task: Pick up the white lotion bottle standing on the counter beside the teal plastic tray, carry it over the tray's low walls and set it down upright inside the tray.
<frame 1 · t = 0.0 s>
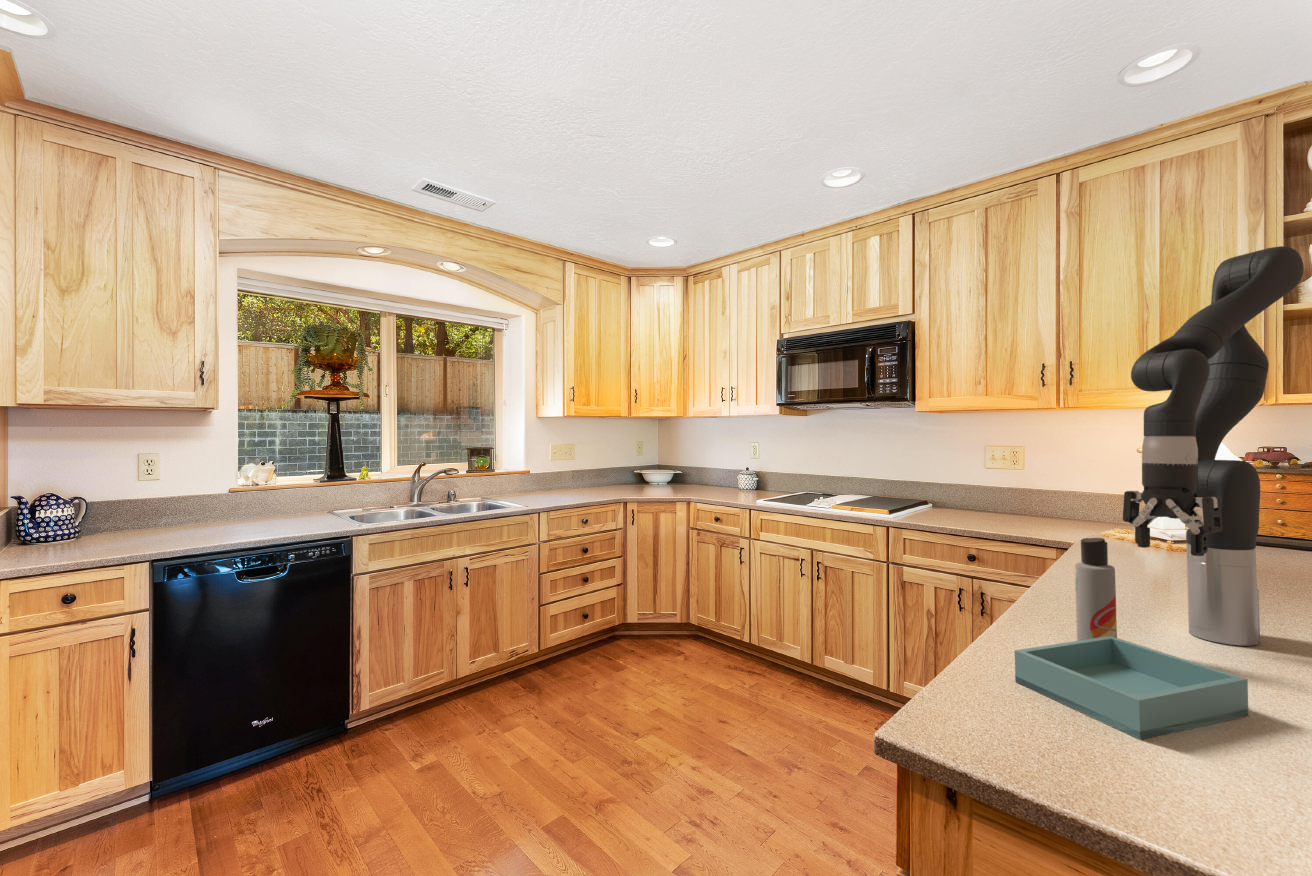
hand: (1169, 551, 102), 17 cm above the countertop, tool pointing down, fingers open, 8 cm apart
lotion bottle: (1097, 650, 101), on the countertop
tray: (1123, 697, 83), on the countertop
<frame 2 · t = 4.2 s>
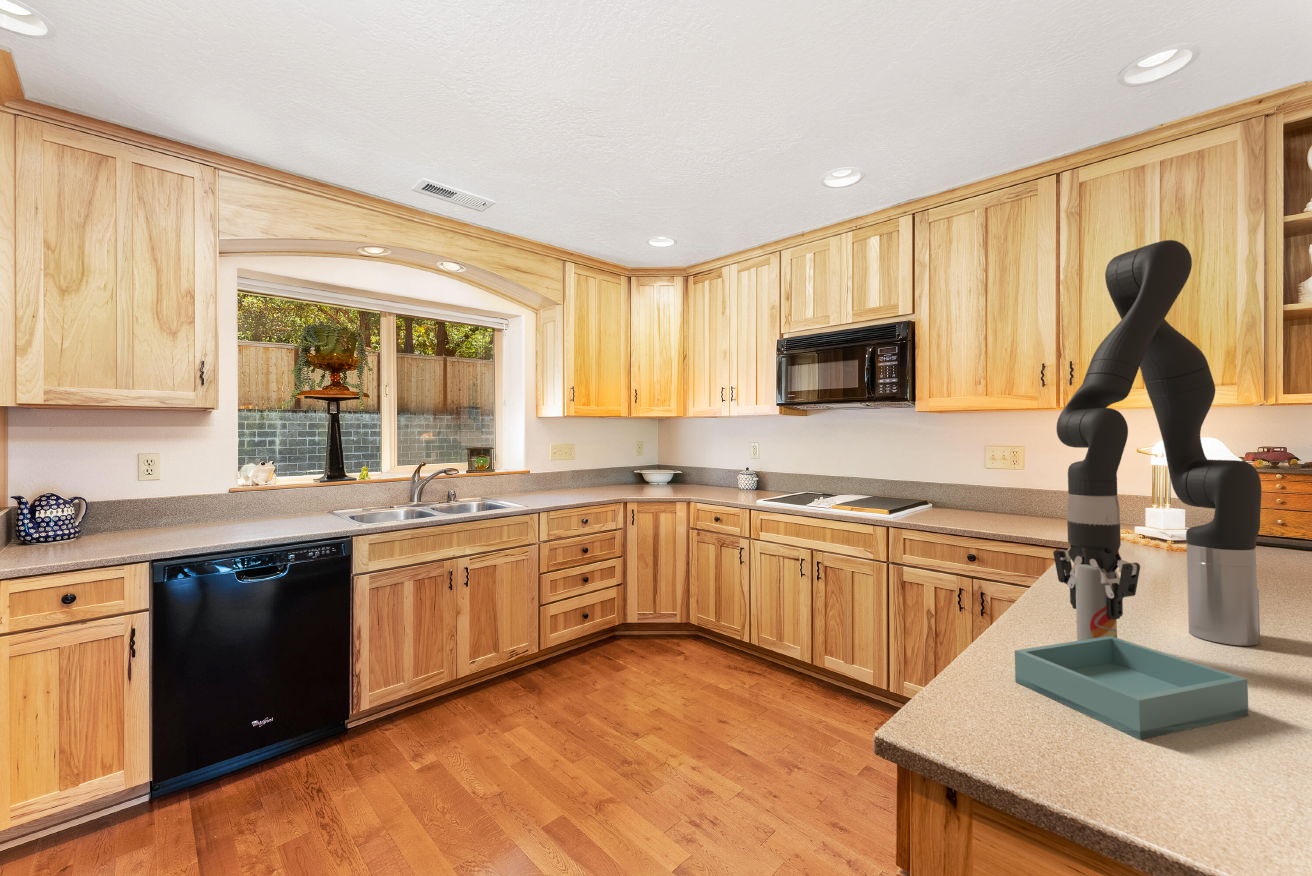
hand: (1095, 613, 101), 7 cm above the countertop, tool pointing down, fingers open, 5 cm apart
lotion bottle: (1097, 650, 101), on the countertop, touching gripper
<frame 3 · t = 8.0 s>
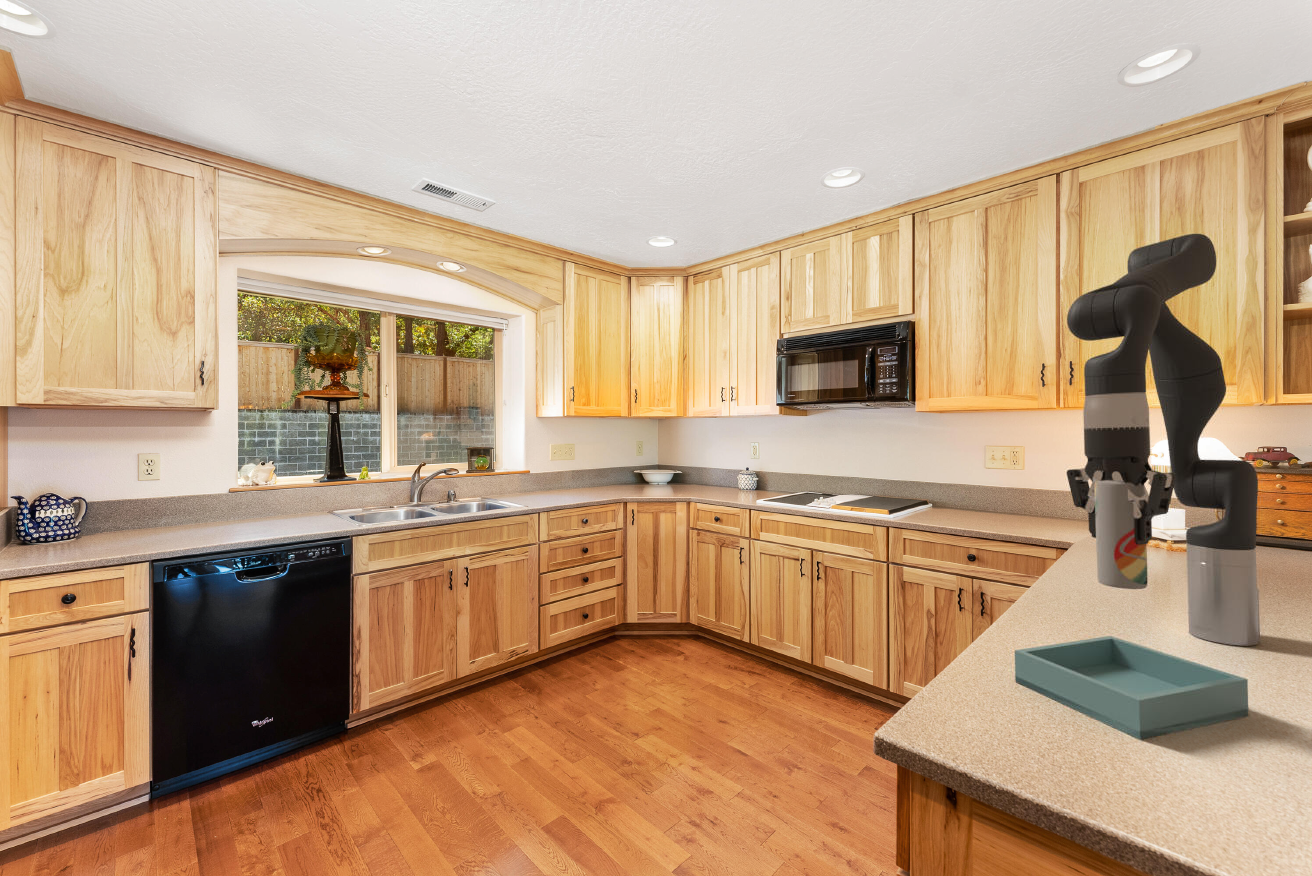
hand: (1119, 540, 83), 23 cm above the countertop, tool pointing down, fingers closed on lotion bottle, 5 cm apart
lotion bottle: (1122, 585, 83), point 16 cm above the countertop, touching gripper
when the fingers open (9 cm above the countertop, at t = 11.5 s): lotion bottle drops 1 cm, resting on tray.
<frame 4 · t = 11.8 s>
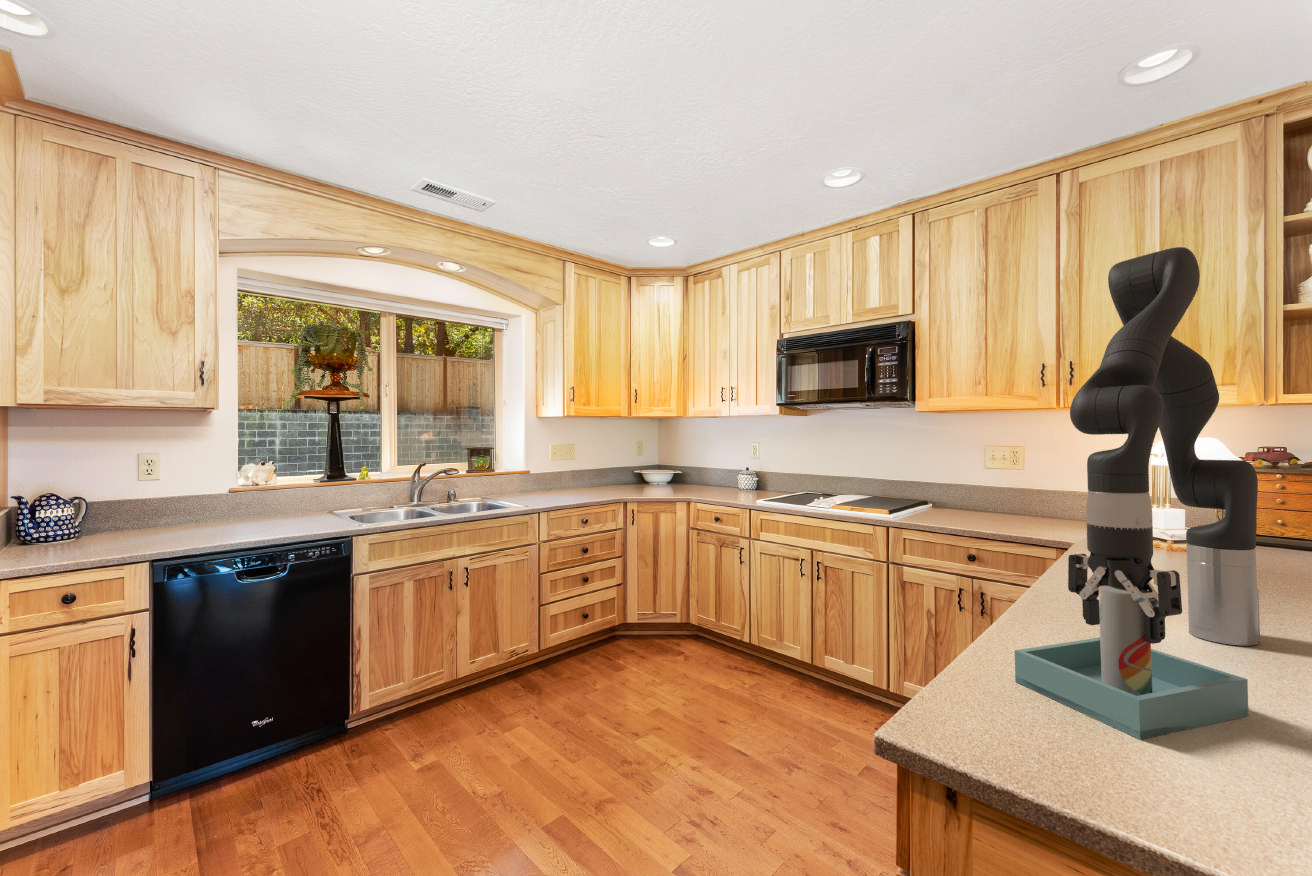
hand: (1121, 632, 83), 10 cm above the countertop, tool pointing down, fingers open, 8 cm apart
lotion bottle: (1126, 693, 82), point 1 cm above the countertop, touching tray
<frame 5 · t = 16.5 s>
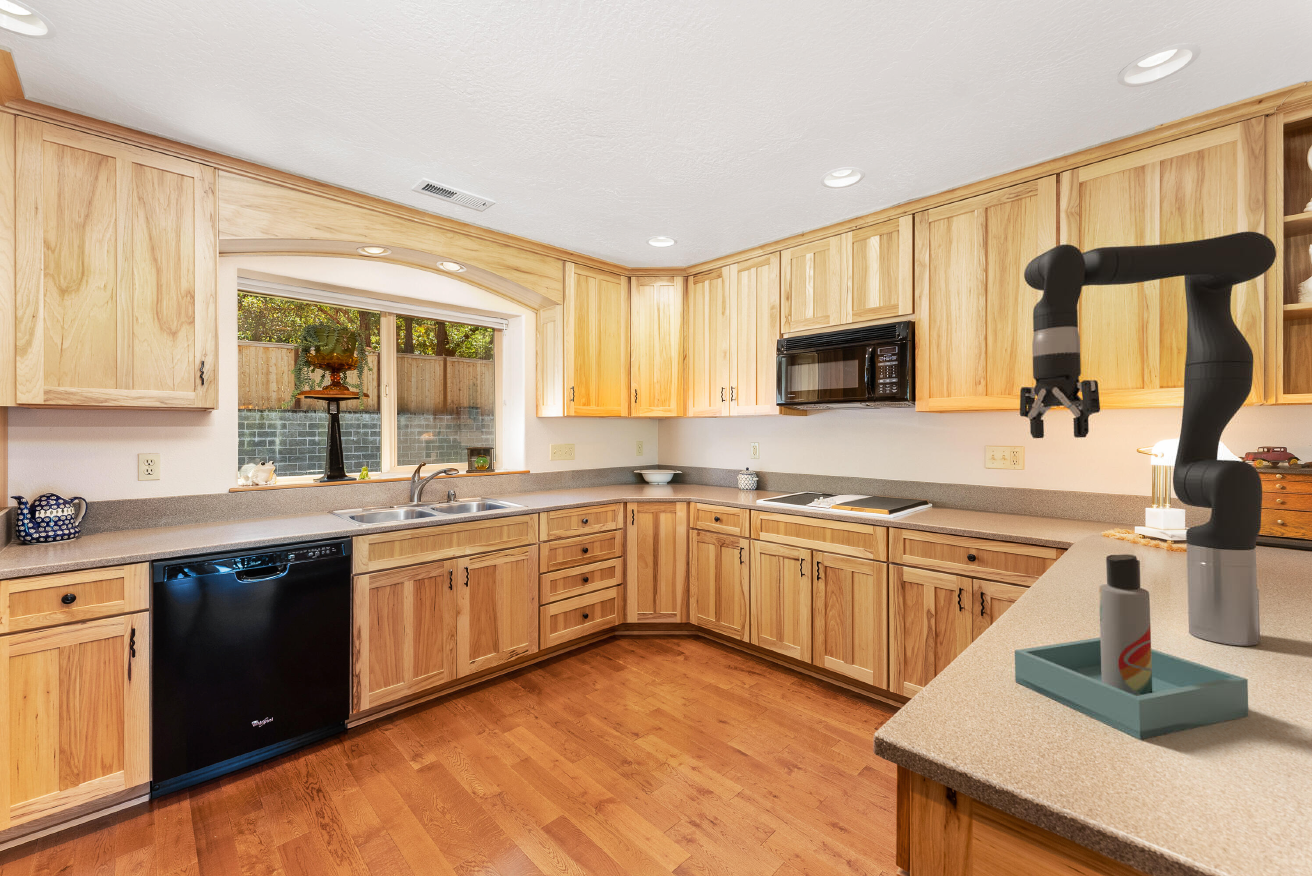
hand: (1058, 437, 108), 38 cm above the countertop, tool pointing down, fingers open, 8 cm apart
nothing on the countertop moved.
at the end: lotion bottle inside the target area on the tray (0.4 cm from its centre), point 0.8 cm above the tray's base; lotion bottle tilted 0°; the gripper is holding nothing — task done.
